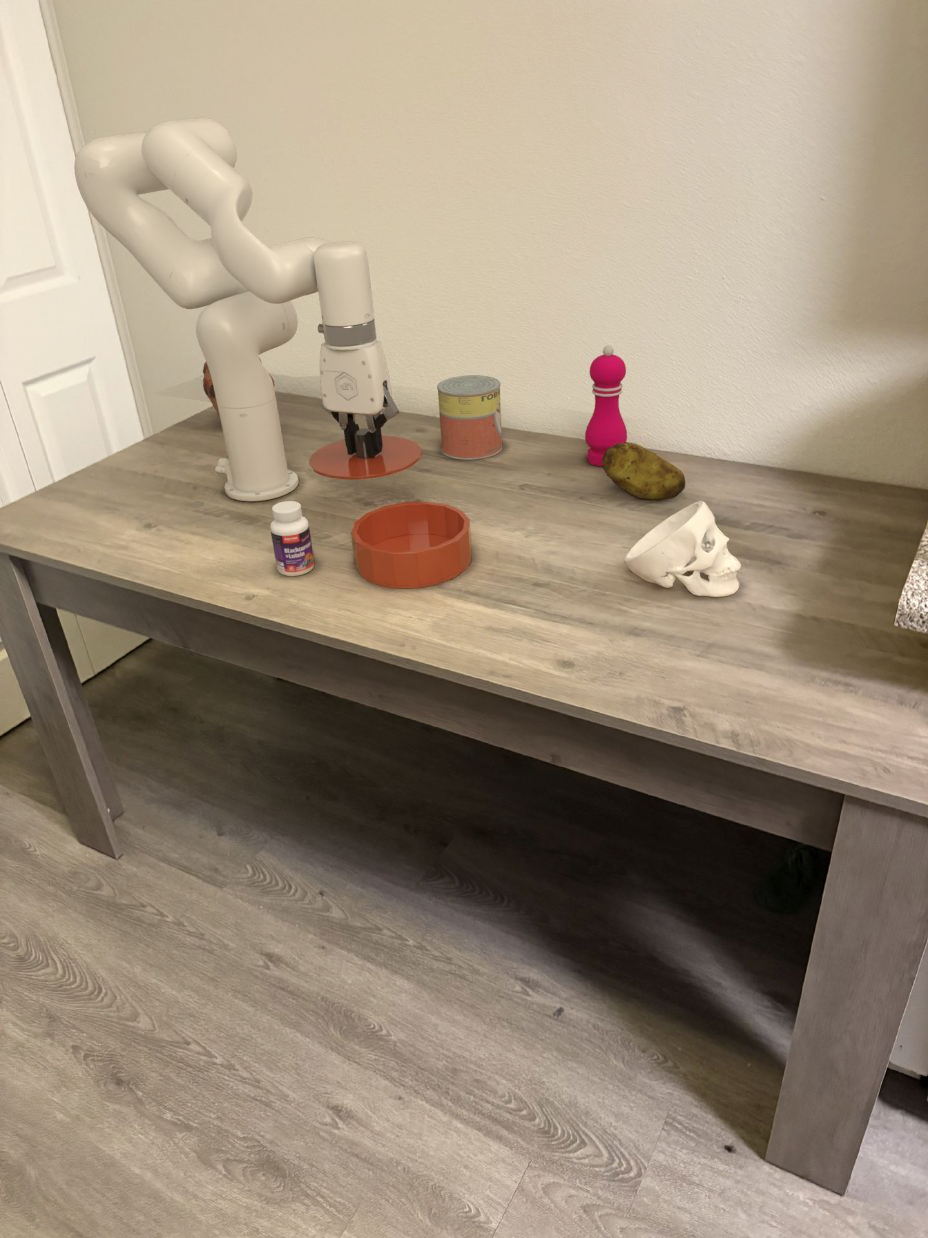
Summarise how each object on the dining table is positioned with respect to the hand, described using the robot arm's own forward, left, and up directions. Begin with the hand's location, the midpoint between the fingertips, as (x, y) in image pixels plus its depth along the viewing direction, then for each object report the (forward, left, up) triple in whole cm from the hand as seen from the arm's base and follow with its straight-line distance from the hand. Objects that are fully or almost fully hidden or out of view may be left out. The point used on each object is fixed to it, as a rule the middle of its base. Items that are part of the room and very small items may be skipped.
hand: (365, 451), depth 143 cm
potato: (+39, +20, -10) cm, 45 cm away
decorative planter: (-48, +29, -10) cm, 57 cm away
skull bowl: (+52, -6, -10) cm, 53 cm away
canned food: (+4, +30, -10) cm, 32 cm away
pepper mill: (+29, +32, -10) cm, 44 cm away
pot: (+15, -13, -10) cm, 22 cm away
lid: (0, 0, -1) cm, 1 cm away
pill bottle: (0, -21, -10) cm, 23 cm away
